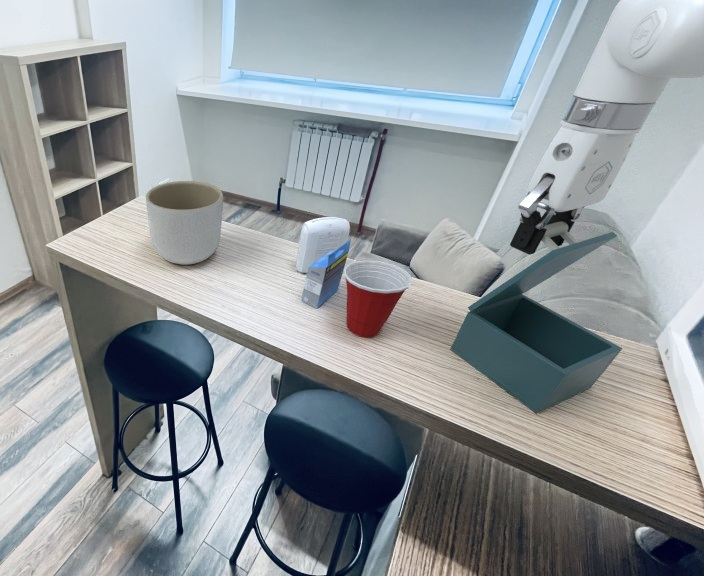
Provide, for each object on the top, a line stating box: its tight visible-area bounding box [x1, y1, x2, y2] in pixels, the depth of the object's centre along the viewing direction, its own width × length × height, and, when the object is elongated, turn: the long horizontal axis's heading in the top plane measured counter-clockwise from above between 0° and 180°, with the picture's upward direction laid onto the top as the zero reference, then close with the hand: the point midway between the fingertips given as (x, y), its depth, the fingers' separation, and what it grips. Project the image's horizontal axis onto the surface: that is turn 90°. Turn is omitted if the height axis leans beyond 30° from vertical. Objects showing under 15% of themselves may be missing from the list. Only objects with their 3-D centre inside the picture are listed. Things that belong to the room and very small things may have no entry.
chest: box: [450, 293, 623, 414], centre depth 64 cm, size 15×13×8 cm
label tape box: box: [301, 238, 352, 309], centre depth 80 cm, size 9×4×12 cm, turn 136°
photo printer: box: [295, 216, 351, 274], centre depth 88 cm, size 10×4×12 cm, turn 98°
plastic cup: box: [343, 259, 413, 339], centre depth 72 cm, size 11×11×12 cm
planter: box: [145, 180, 224, 266], centre depth 94 cm, size 17×17×15 cm
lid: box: [467, 222, 618, 312], centre depth 61 cm, size 15×13×5 cm
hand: (535, 245), depth 60 cm, fingers closed on lid, 5 cm apart
